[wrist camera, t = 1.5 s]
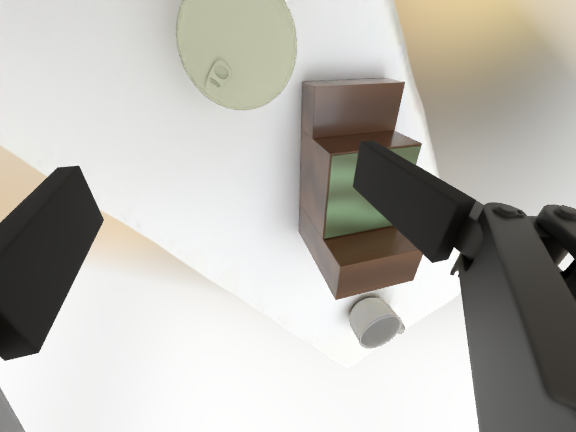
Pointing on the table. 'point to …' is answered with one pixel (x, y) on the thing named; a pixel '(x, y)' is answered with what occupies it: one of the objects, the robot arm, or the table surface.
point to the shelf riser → (351, 185)
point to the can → (237, 49)
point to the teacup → (374, 322)
